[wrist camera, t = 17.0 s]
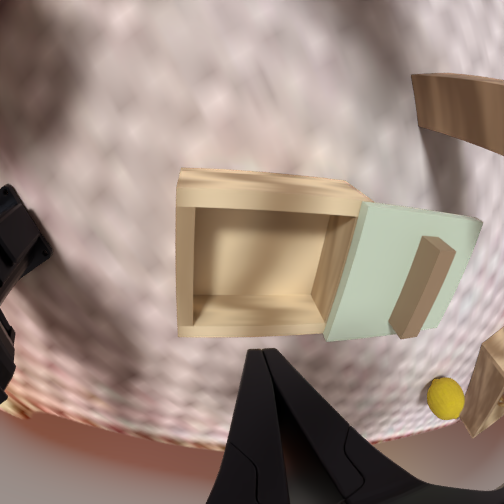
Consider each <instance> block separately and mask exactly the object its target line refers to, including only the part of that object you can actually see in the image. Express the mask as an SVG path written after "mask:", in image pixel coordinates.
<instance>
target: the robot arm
mask: <svg viewBox="0 0 504 504" xmlns="http://www.w3.org/2000/svg"><path fill="white" fill-rule="evenodd" d="M6 190H7V191H8V194H7V193H6ZM44 250H46V251H47V253H48V254H47V253H45V251H44ZM52 253H53V252H52V248H51V247H50V245H49V244H48V243H47V241H46V240H45V238H44V237H43V235H42V234H41V232H40V231H39V229H38V228H37V226H36V225H35V223H34V222H33V220H32V219H31V217H30V216H29V214H28V212H27V211H26V209H25V208H24V206H23V205H22V203H21V201H20V200H19V198H18V196H17V195H16V193H15V191H14V190H13V188H12V186H11V185H9V184H6V185H4V186H3V187H2V188H1V189H0V306H1V304H2V303H3V301H4V300H5V298H6V297H7V295H8V294H9V292H10V291H11V289H12V288H13V287H14V285H15V284H16V282H17V281H18V280H19V279H20V278H22V277H23V276H25V275H26V274H27V273H29V272H30V271H32V270H33V269H34V268H36V267H37V266H39V265H40V264H42V263H43V262H44V261H46V260H47V259H49V258H50V256H51V255H52ZM14 340H15V331H14V329H13V328H12V326H10V325H9V323H8V321H7V320H6V318H5V316H4V314H3V312H2V311H1V309H0V404H1V403H3V402H4V401H5V400H7V398H8V395H7V394H6V393H5V392H4V391H5V389H6V387H7V386H8V384H9V382H10V381H11V379H12V377H13V374H14V372H15V369H16V365H15V364H14V351H15V349H14ZM206 504H504V484H502V485H501V486H499V487H498V488H496V489H495V490H492V491H478V490H469V489H460V488H453V487H446V486H439V485H434V484H429V483H426V482H424V481H422V480H419V479H417V478H416V477H414V476H413V475H411V474H410V473H408V472H407V471H406V470H404V469H403V468H401V467H400V466H399V465H397V464H396V463H394V462H393V461H392V460H390V459H389V458H388V457H386V456H385V455H383V454H382V453H381V452H380V451H379V450H377V449H376V448H375V447H373V446H372V445H371V444H370V443H369V442H368V441H367V440H366V439H364V438H363V437H362V436H361V435H360V434H359V433H358V432H357V431H356V430H355V429H354V428H353V427H352V426H349V423H348V422H347V421H346V420H345V419H344V418H343V417H342V416H341V415H340V414H339V413H338V412H337V411H336V410H335V409H334V408H333V407H332V406H331V405H330V404H329V403H328V402H327V401H326V400H325V399H324V398H323V397H322V396H321V395H320V394H319V393H318V392H317V391H316V390H315V389H314V388H313V387H312V386H311V385H310V384H309V383H308V382H307V381H306V380H305V379H304V378H303V376H302V375H301V374H300V373H299V372H298V371H297V370H296V369H295V368H294V367H293V366H292V365H291V364H290V363H289V362H288V361H287V360H286V359H285V357H284V356H283V355H282V354H281V353H280V352H279V351H278V350H277V349H275V348H265V349H262V350H261V349H248V350H247V354H246V359H245V364H244V368H243V373H242V377H241V382H240V386H239V391H238V395H237V400H236V404H235V409H234V413H233V417H232V422H231V426H230V431H229V435H228V439H227V443H226V447H225V452H224V456H223V459H222V463H221V466H220V470H219V473H218V476H217V478H216V480H215V483H214V486H213V488H212V490H211V493H210V495H209V497H208V499H207V502H206Z"/></svg>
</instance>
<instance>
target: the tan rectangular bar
mask: <svg viewBox="0 0 504 504" xmlns="http://www.w3.org/2000/svg"><path fill="white" fill-rule="evenodd" d="M411 78H412V84H413V90H414V96H415V103H416V110H417V118H418V126H420V127H423V128H426V129H430V130H433V131H436V132H440V133H443V134H446V135H449V136H452V137H455V138H458V139H461V140H464V141H466V142H469V143H472V144H475V145H477V146H480V147H483V148H485V149H488V150H490V151H493V152H495V153H498V154H500V155H502V156H504V80H500V79H494V78H488V77H481V76H473V75H464V74H454V73H431V74H413V75H411Z"/></svg>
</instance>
